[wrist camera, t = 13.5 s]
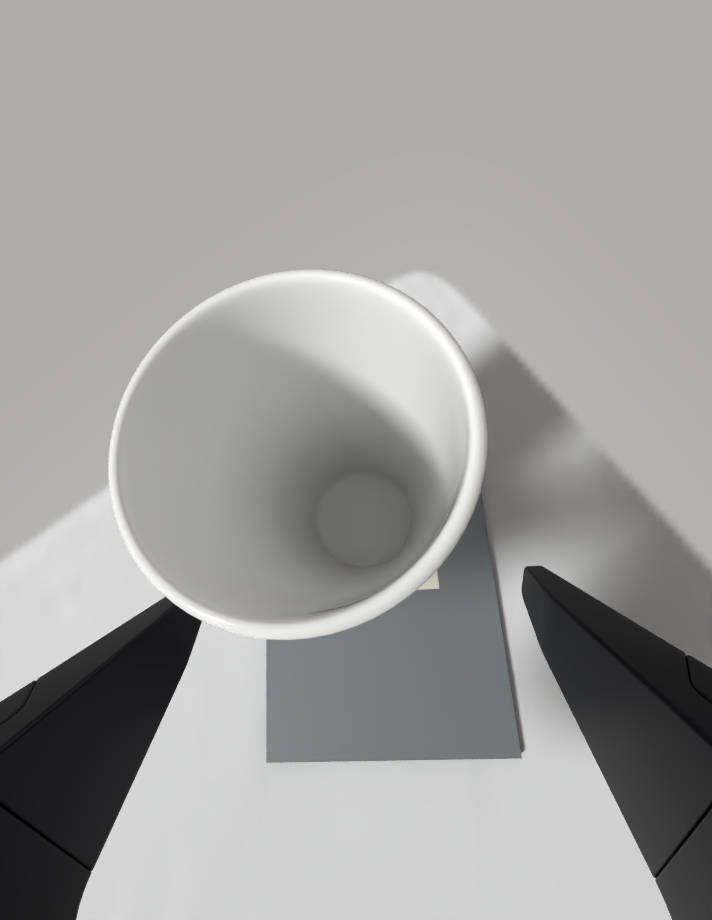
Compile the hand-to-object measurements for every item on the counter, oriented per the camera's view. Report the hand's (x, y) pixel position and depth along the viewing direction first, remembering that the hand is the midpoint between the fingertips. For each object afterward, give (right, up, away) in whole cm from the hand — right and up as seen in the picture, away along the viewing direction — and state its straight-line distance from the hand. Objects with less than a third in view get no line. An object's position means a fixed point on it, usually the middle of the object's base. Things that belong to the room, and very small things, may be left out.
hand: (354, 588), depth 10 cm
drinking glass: (+1, 0, +11) cm, 11 cm away
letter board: (+1, -3, +10) cm, 10 cm away
